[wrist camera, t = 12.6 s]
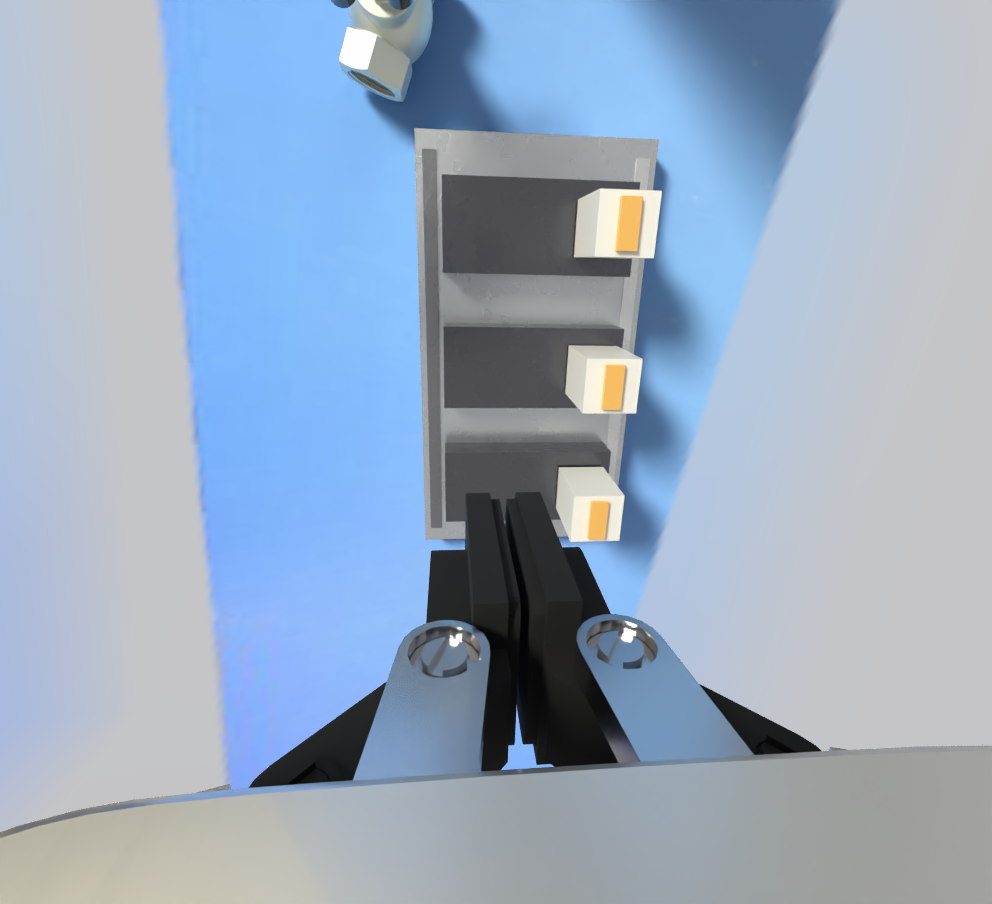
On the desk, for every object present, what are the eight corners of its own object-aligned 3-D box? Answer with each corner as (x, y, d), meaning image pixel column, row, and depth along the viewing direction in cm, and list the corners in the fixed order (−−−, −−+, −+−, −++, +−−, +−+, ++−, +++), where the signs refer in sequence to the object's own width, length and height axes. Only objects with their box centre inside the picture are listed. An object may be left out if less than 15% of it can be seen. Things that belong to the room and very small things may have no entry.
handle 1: (578, 199, 28) (602, 187, 24) (630, 201, 28) (664, 189, 24) (573, 257, 29) (596, 256, 25) (624, 258, 29) (656, 258, 25)
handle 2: (558, 467, 34) (575, 498, 29) (603, 466, 34) (626, 498, 30) (555, 507, 35) (571, 544, 30) (598, 507, 35) (620, 543, 31)
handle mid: (568, 345, 31) (588, 359, 26) (616, 346, 31) (644, 360, 27) (565, 393, 32) (584, 415, 28) (611, 393, 32) (637, 414, 28)
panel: (416, 136, 30) (411, 118, 26) (646, 146, 31) (672, 131, 28) (426, 526, 39) (424, 554, 35) (605, 522, 40) (620, 549, 37)
